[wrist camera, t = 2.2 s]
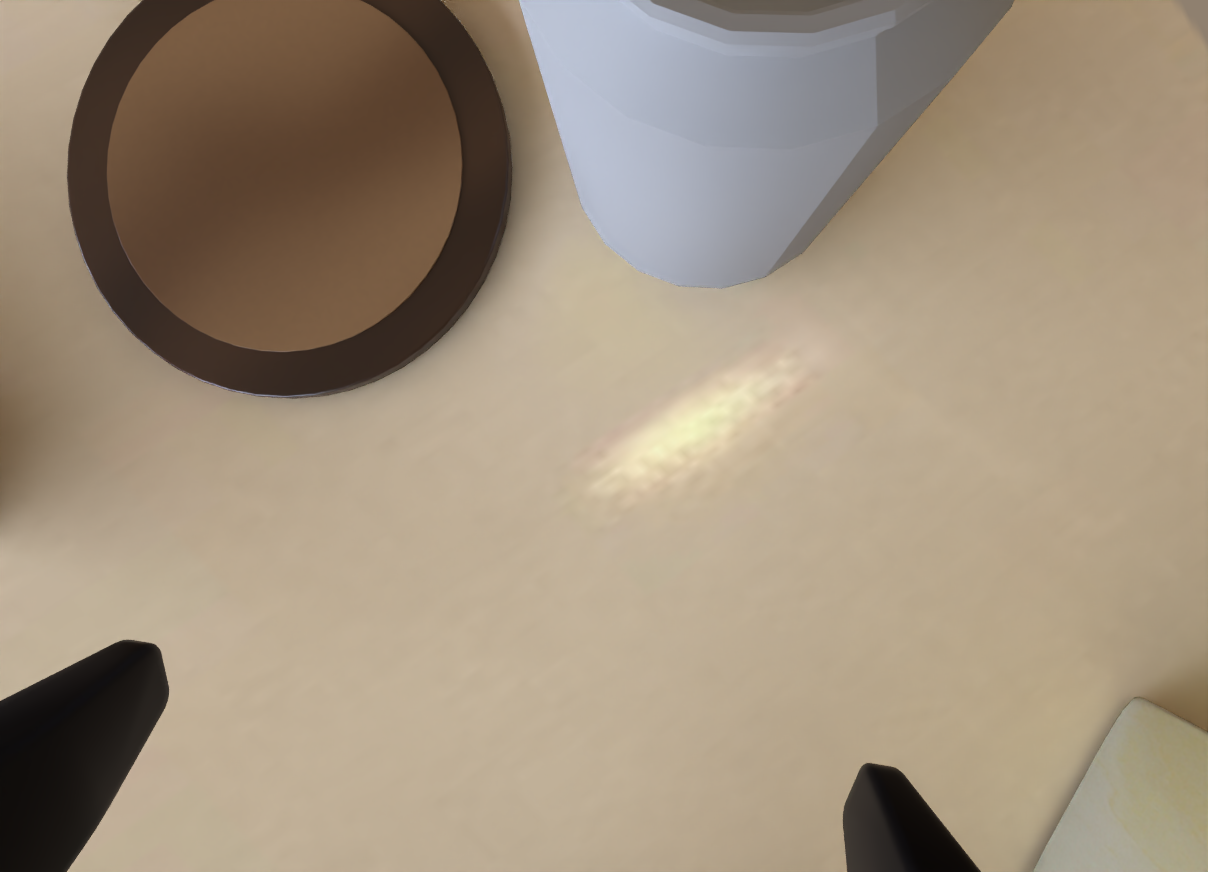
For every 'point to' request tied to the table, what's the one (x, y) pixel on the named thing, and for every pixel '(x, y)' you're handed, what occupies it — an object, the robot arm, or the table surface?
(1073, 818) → the toy refrigerator
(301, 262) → the coaster
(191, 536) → the table surface
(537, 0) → the can
